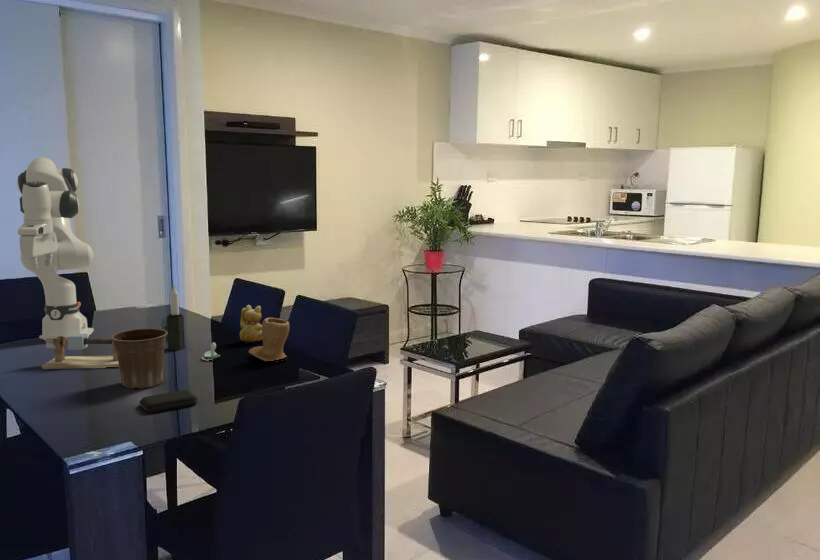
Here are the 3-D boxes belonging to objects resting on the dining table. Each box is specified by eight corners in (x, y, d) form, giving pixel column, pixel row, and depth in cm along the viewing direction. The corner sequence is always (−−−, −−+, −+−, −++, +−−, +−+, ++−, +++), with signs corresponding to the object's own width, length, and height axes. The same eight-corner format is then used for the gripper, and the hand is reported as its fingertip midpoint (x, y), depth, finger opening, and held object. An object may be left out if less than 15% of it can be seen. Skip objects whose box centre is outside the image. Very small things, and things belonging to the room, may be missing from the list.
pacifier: (205, 363, 234) (221, 360, 237) (204, 346, 233) (220, 343, 236) (199, 358, 240) (215, 355, 243) (197, 342, 239) (214, 339, 242)
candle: (179, 350, 250) (176, 285, 247) (166, 349, 251) (163, 285, 248) (186, 347, 255) (183, 283, 251) (174, 346, 256) (171, 283, 252)
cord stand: (57, 359, 236) (55, 333, 235) (132, 358, 238) (130, 332, 237) (41, 369, 224) (39, 340, 223) (120, 367, 226) (119, 339, 225)
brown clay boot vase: (295, 360, 237) (294, 320, 235) (264, 366, 230) (263, 323, 228) (277, 352, 249) (276, 313, 247) (247, 356, 242) (246, 316, 240)
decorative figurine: (266, 340, 267) (265, 304, 265) (259, 345, 259) (258, 308, 257) (243, 339, 268) (242, 303, 266) (235, 344, 260) (234, 307, 258)
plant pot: (135, 395, 198) (133, 342, 195) (103, 386, 206) (100, 335, 204) (180, 381, 211) (178, 332, 209) (148, 373, 220) (145, 326, 218)
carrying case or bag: (188, 396, 198) (137, 405, 190) (188, 386, 198) (136, 395, 189) (200, 406, 189) (146, 416, 181) (199, 395, 189) (146, 405, 181)
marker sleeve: (73, 346, 232) (72, 333, 232) (88, 346, 233) (87, 333, 232) (67, 349, 228) (67, 336, 227) (82, 349, 228) (82, 336, 227)
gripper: (43, 226, 241) (46, 263, 243) (14, 230, 221) (18, 271, 223) (61, 226, 241) (63, 263, 243) (34, 230, 221) (37, 271, 223)
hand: (41, 267), depth 233 cm, fingers open, 8 cm apart
